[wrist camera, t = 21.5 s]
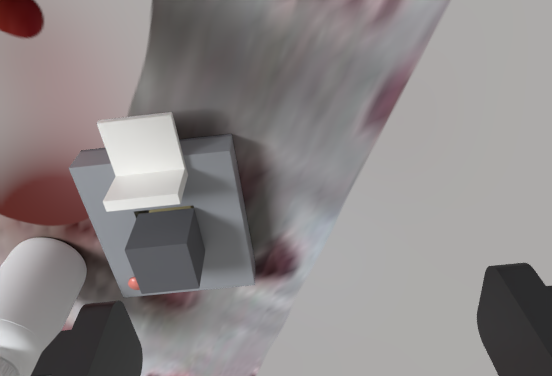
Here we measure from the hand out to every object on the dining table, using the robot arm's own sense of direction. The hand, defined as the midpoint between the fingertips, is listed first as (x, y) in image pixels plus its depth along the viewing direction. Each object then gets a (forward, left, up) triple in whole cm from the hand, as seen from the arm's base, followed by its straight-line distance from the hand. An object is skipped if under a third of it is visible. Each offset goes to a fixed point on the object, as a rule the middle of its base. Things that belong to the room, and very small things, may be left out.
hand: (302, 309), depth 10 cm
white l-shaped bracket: (-12, -9, -27) cm, 31 cm away
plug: (-12, -18, -30) cm, 37 cm away
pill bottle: (-27, -23, -30) cm, 47 cm away
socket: (-12, -18, -30) cm, 37 cm away
